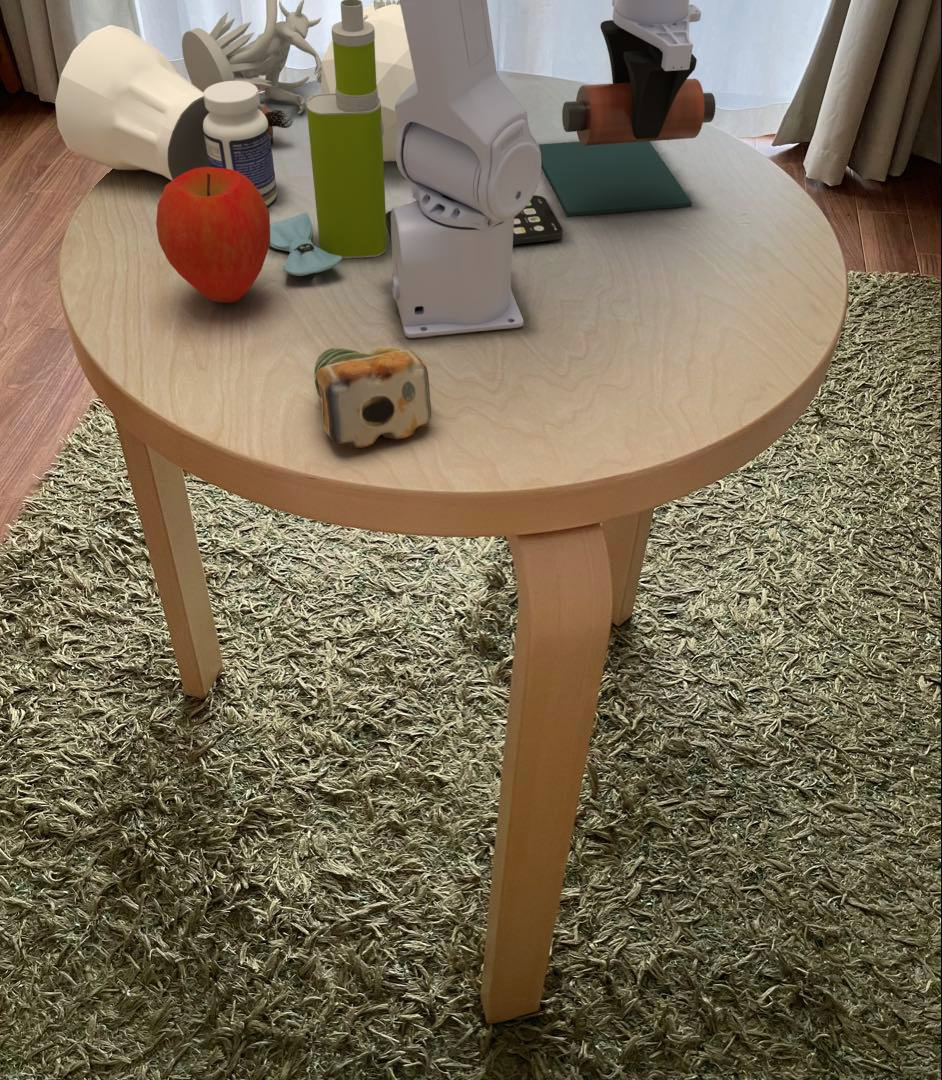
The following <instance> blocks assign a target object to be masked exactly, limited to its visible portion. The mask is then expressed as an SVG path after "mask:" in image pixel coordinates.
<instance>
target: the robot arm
mask: <svg viewBox="0 0 942 1080" xmlns="http://www.w3.org/2000/svg"><path fill="white" fill-rule="evenodd" d="M399 1H400V6H401V11H402V15H403V20H404V25H405V30H406V35H407V40H408V45H409V50H410V55H411V60H412V64H413V69H414V74H415V79H416V81H414V82H413V83H412V84H411V85H410V86H409V87H408V88H407V89H406V90H405V91H404V92H403V94H402V95H401V96H400V98H399V99H398V101H397V102H396V103H395V111H396V115H397V122H398V133H397V140H396V161H395V162H396V164H397V168H398V171H399V173H400V174H401V175H402V177H404V178H405V179H406V181H409V182H410V183H411V193H412V198H413V199H415V201H412V202H410V203H407V204H403V205H400V206H399V205H398V206H395V207H392V208H391V209H390V211H391V235H390V239H391V240H390V241H391V262H392V263H391V265H392V276H391V289H392V296H393V299H394V300H395V302H396V306H397V309H398V314H399V317H400V322H401V325H402V329H403V333H404V336H405V337H406V338H411V339H413V338H424V337H435V336H444V335H454V334H466V333H475V332H487V331H496V330H504V329H505V330H506V329H507V330H508V329H515V328H521V327H523V325H524V318H523V316H522V313H521V311H520V307H519V305H518V304H517V301H516V299H515V295H514V293H513V291H512V288H511V286H512V269H513V268H512V267H513V249H514V248H513V247H514V244H513V230H514V217H515V216H516V215H517V214H519V213H520V212H521V211H522V210H523V209H524V208H525V207H526V205H527V204H528V203H529V202H530V200H531V198H532V197H533V195H535V193H536V191H537V190H538V189H537V188H538V187H539V184H540V179H541V174H542V166H541V152H540V148H539V143H538V141H537V140H536V138H535V137H534V136H533V133H532V132H531V129H530V127H529V121H528V112H527V110H526V108H525V107H524V105H522V103H521V102H520V100H519V99H518V98H517V97H516V96H515V95H514V94H513V92H512V91H511V90H510V89H509V87H508V86H507V85H506V83H504V81H503V80H502V79H501V77H500V76H499V74H498V72H497V65H496V64H497V63H496V58H495V57H496V56H495V51H494V44H493V36H492V28H491V20H490V14H489V6H488V0H399ZM611 6H612V7H613V9H612V10H613V11H612V19H607V20H604V21H602V22H601V23H600V30H601V33H602V35H603V38H604V42H605V44H606V49H607V53H608V58H609V63H610V69H611V80H612V84H613V83H629V82H631V90H632V128H633V136H634V137H635V139H648V138H658V137H659V134H660V132H661V130H662V128H663V125H664V123H665V120H666V118H667V115H668V113H669V110H670V108H671V105H672V103H673V101H674V99H675V97H676V95H677V93H678V91H679V90H680V88H681V86H682V85H683V83H684V82H685V81H686V79H689V77H690V75H691V74H692V73H693V72H694V71H695V70H696V66H697V62H698V59H697V57H696V56H695V55H694V54H693V47H694V44H693V43H692V41H691V39H690V23H696V22H697V23H698V22H700V20H701V18H702V11H701V10H700V8H698V7H697V5H695V4H690V0H612V1H611Z"/></svg>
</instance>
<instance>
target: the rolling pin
mask: <svg viewBox="0 0 942 1080" xmlns="http://www.w3.org/2000/svg"><path fill="white" fill-rule="evenodd" d="M715 98H716V97H715V96H714V94H713V93H712V92H704V90H703V87H702V84H701V82H700V81H699V80H698V79H697V78H687V79H686V81H685V82H684V83H683V85H682V86H681V88H680V90H679V91H678V93H677V95H676V97H675V99H674V101H673V103H672V105H671V108H670V110H669V113H668V115H667V118H666V120H665V123H664V125H663V128H662V130H661V132H660V134H659V137H658V138H648V139H635V137H634V136H633V128H632V90H631V82H629V83H613V82H612V83H600V84H599V83H597V84H582V85H580V87H579V88H578V91H577V93H576V99H575V100H572V101H564V103H563V106H562V110H561V111H562V112H561V117H562V118H561V120H562V127H563V130H564V132H565V133H572V132H575V133H576V135H577V138H578V142H580V143H581V145H583V146H589V145H603V144H617V143H631V142H646V141H650V142H657V141H658V142H659V141H671V140H688V139H695V138H697V137H698V135H699V134H700V133H701V130H702V126H703V124H704V123H705V124H706V123H708V124H709V123H711V122H712V121H713V120H714V119H715V115H716V99H715Z"/></svg>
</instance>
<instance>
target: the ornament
mask: <svg viewBox="0 0 942 1080" xmlns="http://www.w3.org/2000/svg"><path fill="white" fill-rule="evenodd" d="M313 370H314V372H313V374H314V385H315V390H316V393H317V395H318V396H319V398H320V409H321V421H322V422H321V424H322V427H323V429H324V430H325V432H326V434H327V436H328V437H329V439H330V440H331V441H332V442H333V443H335V444H337V445H346V446H348V447H349V448H352V449H361V448H366V447H369V446H372V445H374V443H375V442H376V441H377V439H378V438H379V437H380V436H383V437H384V438H387V439H392V440H403V439H406V438H409V437H410V436H412V435H413V434H414V433H415V431H416V429H417V428H419V427H422V426H425V425H427V424H429V423H430V421H431V419H432V404H431V391H430V390H431V389H430V380H429V379H430V377H429V372H428V368H427V365H426V364H425V363H424V362H423V360H422V359H421V358H420V357H419V356H418V355H417V354H416V353H414V351H412V350H410V349H405V348H404V349H400V348H397V347H395V346H379V347H377V348H375V349H373V350H372V351H371V352H370V353H365V352H359V351H358V350H355V349H349V348H348V349H347V348H343V347H341V348H339V347H331V348H328V349H326V350H323V352H322V353H320V354H319V356H318V357H317V359H316V361H315V366H314V369H313Z"/></svg>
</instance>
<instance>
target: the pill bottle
mask: <svg viewBox="0 0 942 1080" xmlns="http://www.w3.org/2000/svg"><path fill="white" fill-rule="evenodd" d="M204 101H205V107H206V109H207V110H208V111H209V114H208V115H207V116H206V117H205V119H204V122H203V131H204V137H205V142H206V148H207V154H208V160H209V165H210V167H214V168H223V169H232V170H234V171H237V172H239V173H241V174H242V175H244V176H246V177H247V178H248V179H249V180H250V181H251V182H252V183H253V184H254V186H255V187H256V188H257V189H258V191H259V192H260V194H261V195H262V197H263V200H264V202H265V204H266V206H267V207H268V205H270V204H271V203H273V202H274V201H275V199H276V197H277V194H278V190H277V189H278V188H277V180H276V172H275V166H274V164H275V163H274V158H273V157H274V156H273V151H272V143H271V136H270V134H269V126H268V121H267V118H266V116H265V115H264V114H263V113H262V111H260V110H258V108H257V107H258V106H259V104H260V103H261V101H260V94H259V89H257V87H256V86H255V85H253V84H251V83H248V82H244V81H226V82H220V83H217V84H214V85H211V86H210V87H208V88H207V89H205V91H204Z"/></svg>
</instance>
